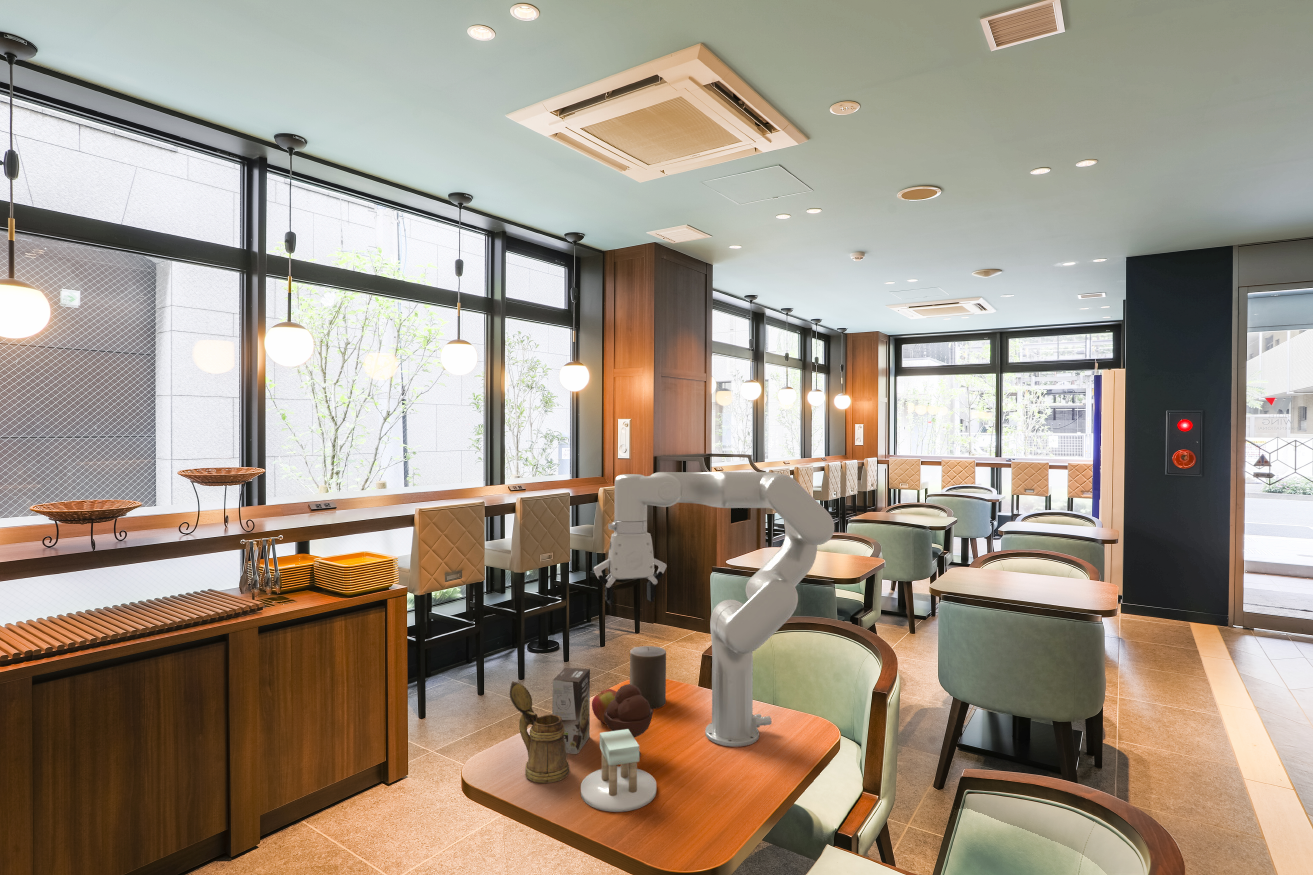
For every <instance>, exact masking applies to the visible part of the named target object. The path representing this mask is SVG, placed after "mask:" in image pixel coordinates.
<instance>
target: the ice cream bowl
mask: <svg viewBox="0 0 1313 875" xmlns="http://www.w3.org/2000/svg"><path fill="white" fill-rule="evenodd" d="M653 714H654V709H651V708H650V704H649V702H648V701H647V700H646V699H645V698H644V697H643V696H642V694H641V691H640V690H639V688H638V687H636V686H635V685H631V684H630V683H628V684H624V685H622V686H620V687H619V688H618V689H617V691H616V695H615V699H614V700H612V701H611V702H610V704H609V705H608V708H606V710H605V712H604V719H605V722H606V723H605V724H606V727H607V728H608V729H609V730H610V731H617V730H625V729H629V731H630V733H631V734H632V736H633V737H634V739H635V738H637V737H639V736H641V735H642V734H644V733H645V732H646V731H647V730H648V729H649V727H650V724H651V723H652V719H653ZM641 755H642V754H641V751H640V750H639V759H640V758H641Z"/></svg>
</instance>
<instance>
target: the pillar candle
mask: <svg viewBox="0 0 1313 875" xmlns="http://www.w3.org/2000/svg"><path fill="white" fill-rule="evenodd" d="M629 651H630V652H629V654H630V655H629V684H631V685H635V686H636V687H638V688H639V690H640V691H641V694H642V696H643V697H644V698H645V699H646V700H647V701H648V702H649V704H650V708H651V709H652V710H656V709H657V710H658V709H659V708H662V707H664V706H665V705H666V703H667V702H666V698H667V695H666V692H667V691H666V690H667V687H666V686H667V682H666V681H667V680H666V679H667V650H666V649H664V648H663V647H659V646H653V645H652V646H651V645H642V646H635V647H632V648H631V649H630V650H629Z"/></svg>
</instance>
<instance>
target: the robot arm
mask: <svg viewBox="0 0 1313 875" xmlns="http://www.w3.org/2000/svg"><path fill="white" fill-rule="evenodd" d="M677 503H678V504H680V503H682V504H683V503H684V504H697V505H698V504H699V505H705V506H707V507H713V508H719V509H720V508H721V509H723V508H725V509H738V508H739V509H742V508H743V509H750V508H751V509H771V510H773V511H775V512H776V514H778V515H779V517H781V518H782V520H783V525H784V532H785V533H784V540H783V543H782V545H781V547H780V548H779V549H778V550H777V552H776V553H775V554H774V555H773V556H772V557H771V559H769V560H768V561H767V562H766V563H765V564H764V565H763V566H761V568H759V570H757V571H756V572H755V573H754V574H753V575H752V576H751V577H750V578H749V580H748V581H747V582H746V586H745V595H746V597H747V601H746V602H745V603H743V602H741V601H739V600H736V599H725V600H723V601H720V602H718V604H716V606H715V607H714V608H713V611H712V612H711V615H710V620H709V621H710V624H709V625H710V627H709V628H710V638H711V652H712V653H711V654H712V657H711V658H712V661H711V663H712V668H711V691H712V692H711V722H710V723H709V724H708V725H706V727H705V729H704V730H705V737H706V738H707V739H708V740H709V741H711V742H713V743H714V744H717V745H721V746H724V747H734V748H735V747H739V748H740V747H746V746H749V745H752V744H754V743H756V742H758V740H759V738H760V730H759V729H758V728H760V727H761V726H771V725H772V718H771V716H770V715H766V716H762V714H761V713H757V714H753V705H754V704H753V700H754V699H753V694H754V693H753V686H754V685H753V684H754V683H753V682H754V681H753V678H754V675H753V671H754V660H753V659H754V656H753V652H754V651H756V650H757V649H759V648H760V647H762V645H764V644H765V643H766V642H767V641H768V640H769V639H770V638H772V636H773V635H774V634H775V633H777V631H778V630H779V629H780V628H781V627H782V626H784V624H785V623H786V622H787V621H788V620H789V619H790V618H791V617H792V616H793V614H794V612H795V611H796V609H797V607H798V602H799V595H798V591H797V588H796V587H797V585H798V584H799V583H800V582H801V581H802V580H803V579H804V578H805V577H806V576H807V575H808V574H809V573H810V571H811V570H812V568H813V565H814V564H815V561H816V558H817V554H818V552H817V551H818V546H821V545H824V544H826V543H827V542H828V541H830V540H831V538H832V537H833V535H834V534H835V533H834V532H835V522H834V520H833V517H832V514H830V513H829V512H828V511H827V509H826V508H825V507H824V506H822V505H821V503H819V502H818V501H817V499H815V498H814V497H813V496H812V495H811V494H810V493H809V492H808V491H807V490H806V489H805V488H804V487H803V486H802V485H801V484H800V483H799V482H798V481H797V480H795V479H794V478H793V477H791V476H790V475H787V474H783V473H778V472H771V471H769V472H768V471H767V472H764V471H760V472H759V471H751V472H750V471H707V472H688V471H687V472H684V471H683V472H680V471H679V472H678V471H677V472H676V471H675V472H674V471H673V472H671V471H668V472H667V471H658V472H655V473H652V474H651V475H648V476H647V475H646V476H645V475H643V474H638V473H637V474H636V473H635V474H633V473H631V474H630V473H626V474H625V473H623V474H619V475H617V476H616V477H615V479H614V519H613V521H612V522H611V523H608V525H607V526H608V530H612V531H613V533H611V536H610V542H609V547H608V558H607V559H606V560H604V561H602V562H601V563H599V564H597V565H596V566H594V567H593V569H592V570H593V571H594V575H595V576H596V577H597V579H598V580H599V581H600V583H602V584H603V585H604V600H605V601H606V602H607V604H609V606H612V605H614V587H613V584H614V583H615V582H616V580H634V579H647V580H648V581H647V583H646V600H648V601H649V602H651V603H653V602H655V601H654V600H655V597H656V595H657V594H656V591H657V590H656V585H657V584H658V581H659V580H660V579H661V578H662V577H663V576H664V573H665V571H666V569H667V567H668V566H667V563H665V562H663V561H661V560H659V559H657V558H656V557H655V558H654V546H653V538H652V536H651V535H652V534H651V533H649V532H648V506H653V507H655V506H656V507H663V508H667V507H671V506H674V505H675V504H677ZM655 566H656V567H657V566H658V569H657V570H656V572H655ZM605 569H607V571H608V575H607V576H606V577H605V576H603V572H602V571H603V570H605Z"/></svg>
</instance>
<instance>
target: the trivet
mask: <svg viewBox="0 0 1313 875" xmlns="http://www.w3.org/2000/svg"><path fill="white" fill-rule="evenodd" d="M656 795H657V781H656V779H655V777H653V775H651V774H650V773H648V772H647V771H645V770H642V769H639V768H637V791H636V792H634V793H631V792H629V776H628V777H627V778H622V777H621V766H617V795H615V796H610V795H609V780H608V781H603V780H602V768H600V769H597V770H595V771H593V772H590V773H589V774H588V775H587V776H585V777H584V778H583V780H582V781H581V783H580V796H581V799H582V801H583V802H584V803H585V804H586V805H587V806H590V807H591V808H593V809H596V810H599V811H603V812H613V813H622V812H629V811H630V812H631V811H635V810H639V809H640V808H643V807H645V806H647V805H648V804H649V803H651V802H652V801H653V800H654V799H655V797H656Z"/></svg>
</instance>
